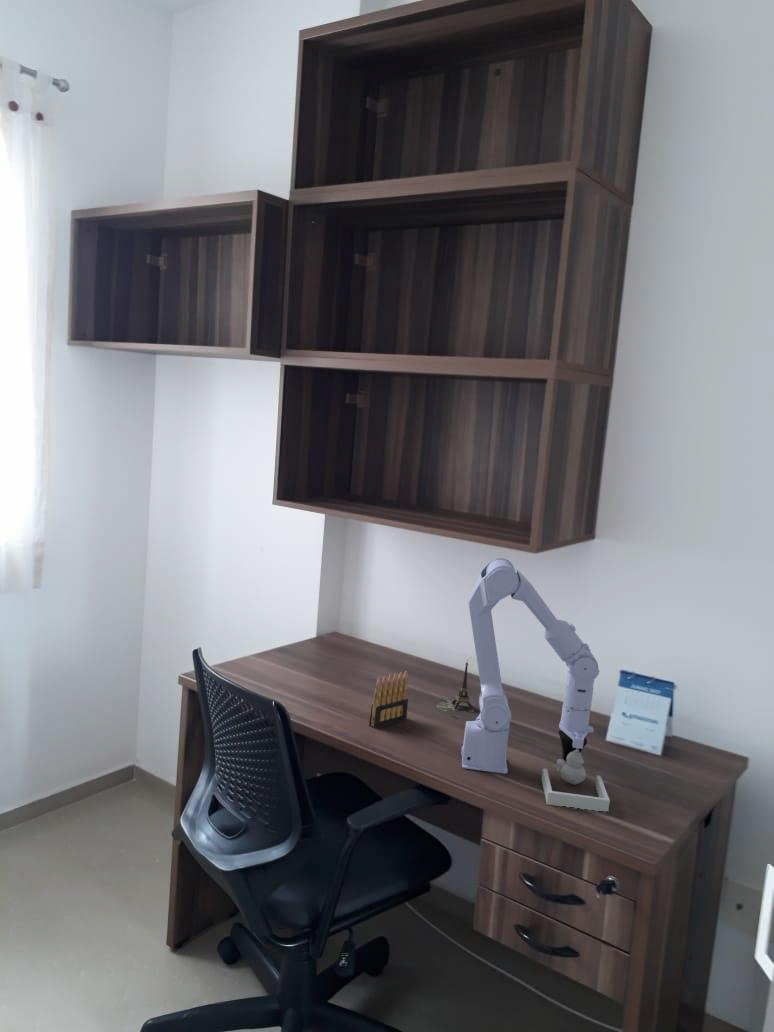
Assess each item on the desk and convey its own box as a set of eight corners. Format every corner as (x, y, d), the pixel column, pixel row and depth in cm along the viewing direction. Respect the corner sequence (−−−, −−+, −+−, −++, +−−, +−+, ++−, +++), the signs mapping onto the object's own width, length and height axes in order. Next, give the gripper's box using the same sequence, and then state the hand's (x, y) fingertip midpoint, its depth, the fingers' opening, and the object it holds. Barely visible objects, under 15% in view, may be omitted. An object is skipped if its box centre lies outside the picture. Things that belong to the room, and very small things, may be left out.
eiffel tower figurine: (462, 696, 215) (467, 647, 214) (493, 708, 209) (499, 658, 207) (426, 708, 204) (432, 657, 202) (459, 721, 198) (464, 669, 196)
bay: (546, 804, 158) (548, 792, 158) (541, 779, 169) (543, 768, 169) (608, 812, 157) (609, 800, 157) (598, 787, 168) (600, 775, 168)
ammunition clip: (401, 716, 196) (406, 668, 194) (406, 719, 195) (411, 671, 193) (368, 725, 188) (373, 676, 187) (374, 728, 187) (379, 678, 185)
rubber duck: (577, 791, 165) (582, 754, 164) (549, 779, 169) (553, 743, 168) (589, 783, 170) (594, 747, 168) (561, 771, 174) (566, 736, 173)
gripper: (601, 721, 163) (592, 784, 165) (590, 696, 178) (582, 755, 180) (566, 716, 164) (558, 780, 166) (558, 692, 178) (550, 750, 180)
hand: (568, 766), depth 173 cm, fingers closed
